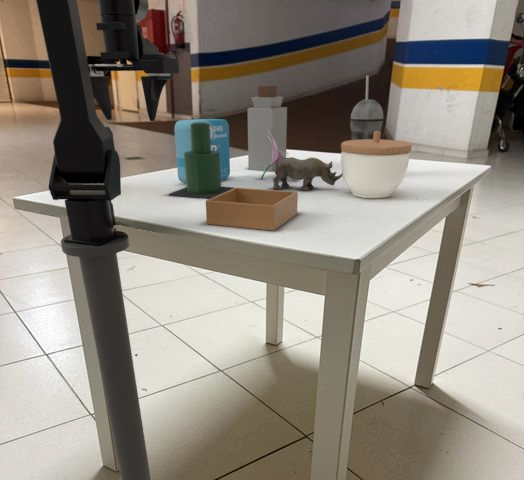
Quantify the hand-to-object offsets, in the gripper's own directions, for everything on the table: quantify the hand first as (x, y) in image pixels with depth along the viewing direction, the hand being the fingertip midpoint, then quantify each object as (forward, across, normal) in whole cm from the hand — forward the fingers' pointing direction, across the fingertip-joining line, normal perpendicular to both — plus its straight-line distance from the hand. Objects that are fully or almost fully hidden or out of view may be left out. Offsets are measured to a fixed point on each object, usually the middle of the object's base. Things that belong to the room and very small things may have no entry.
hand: (130, 120), depth 89 cm
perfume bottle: (+13, -12, -38) cm, 42 cm away
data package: (+13, -6, -16) cm, 21 cm away
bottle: (+13, -11, -6) cm, 18 cm away
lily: (+13, -20, -25) cm, 35 cm away
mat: (+13, -11, -6) cm, 18 cm away
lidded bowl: (+13, -42, -15) cm, 46 cm away
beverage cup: (+13, -36, -36) cm, 53 cm away
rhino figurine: (+13, -29, -16) cm, 36 cm away
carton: (+13, -28, +10) cm, 32 cm away
